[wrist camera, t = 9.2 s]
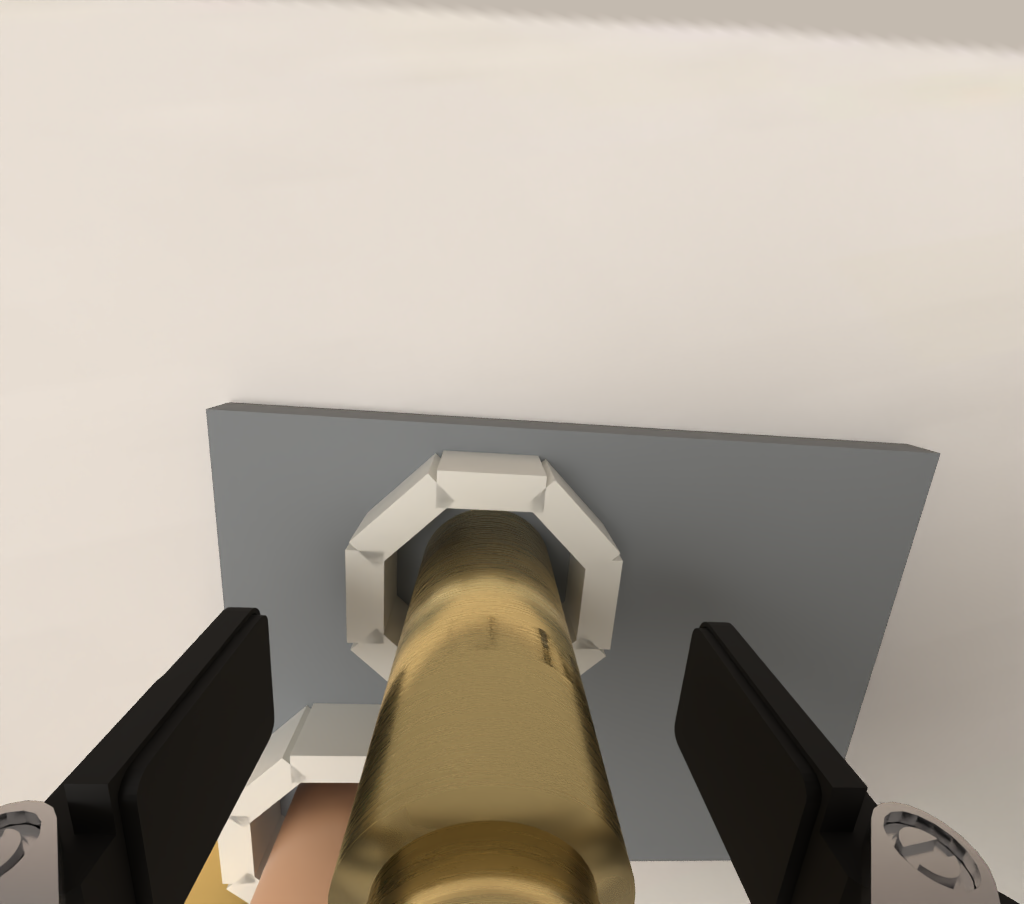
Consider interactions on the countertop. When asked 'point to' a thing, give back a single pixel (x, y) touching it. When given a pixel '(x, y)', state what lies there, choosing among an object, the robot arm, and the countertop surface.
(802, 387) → the countertop surface
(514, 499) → the white octagonal ring
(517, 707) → the gold rounded cylinder
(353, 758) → the joined fitting
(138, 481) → the countertop surface
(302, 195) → the countertop surface
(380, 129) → the countertop surface
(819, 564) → the mat
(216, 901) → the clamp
